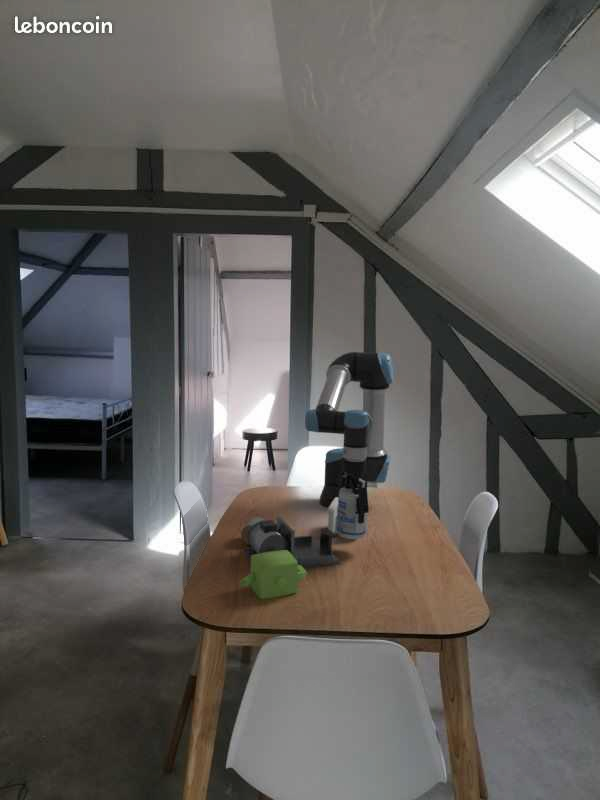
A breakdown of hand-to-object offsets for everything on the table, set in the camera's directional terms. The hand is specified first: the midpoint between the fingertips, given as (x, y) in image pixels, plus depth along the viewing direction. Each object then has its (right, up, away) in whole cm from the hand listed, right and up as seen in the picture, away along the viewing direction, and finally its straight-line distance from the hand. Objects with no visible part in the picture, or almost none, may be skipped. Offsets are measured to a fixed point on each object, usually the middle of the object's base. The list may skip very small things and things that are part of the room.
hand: (351, 526), depth 178 cm
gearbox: (-24, -11, -29) cm, 40 cm away
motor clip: (-19, -8, -5) cm, 22 cm away
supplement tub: (0, -3, 0) cm, 3 cm away
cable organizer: (-1, -7, +18) cm, 20 cm away
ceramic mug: (-31, -7, +7) cm, 32 cm away
